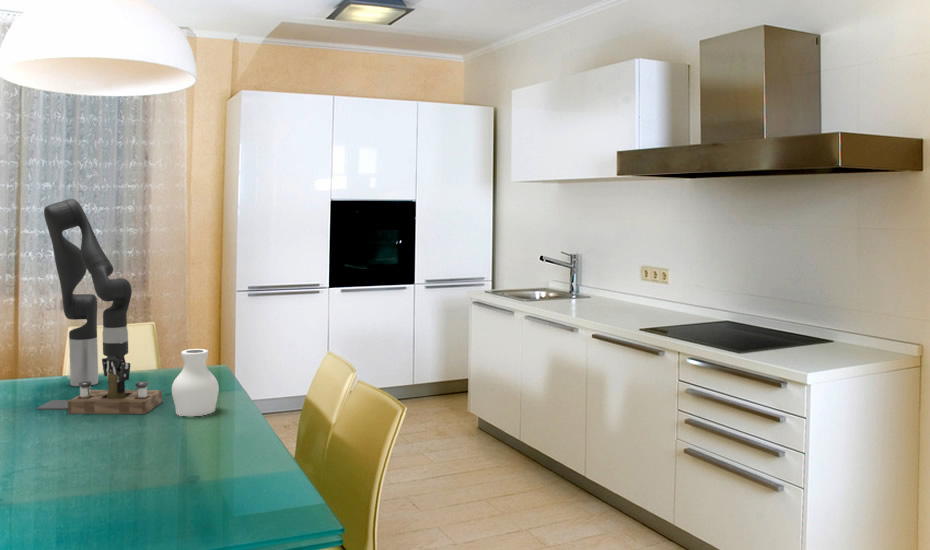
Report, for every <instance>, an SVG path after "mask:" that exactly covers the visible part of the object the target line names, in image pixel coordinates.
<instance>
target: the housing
mask: <svg viewBox="0 0 930 550" xmlns="http://www.w3.org/2000/svg"><path fill="white" fill-rule="evenodd" d="M90 391H91V398H89V399H80V394H79V395H77V396H76V397H73V398H72V399H68V400H69V401H68V410H67V413H68V415H69V414H74V415H75V414H76V415H78V414H79V415H80V414H81V415H86V414H87V415H90V414H92V415H95V414H96V415H97V414H98V415H146V414H147V413H149V412H150V411H152V410H153V409H154V408H156V407H157V406H159V405H160V404H162V403H163V390H160V389H159V390H158V389H157V390H156V389H154V390H151V389H147V399H137V389H129V390H128V389H125V398H124V399H107V396H108V389H90Z"/></svg>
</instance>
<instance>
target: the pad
mask: <svg viewBox="0 0 930 550" xmlns="http://www.w3.org/2000/svg"><path fill="white" fill-rule="evenodd" d="M69 400H70V399H55V400H54V399H52V400H49V401H48V402H46V403H44V404H41V405H40V406H37V407H36V411H38V410H39V411H40V410H41V411H44V410H45V411H68V401H69Z"/></svg>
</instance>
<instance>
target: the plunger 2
mask: <svg viewBox="0 0 930 550" xmlns="http://www.w3.org/2000/svg"><path fill="white" fill-rule="evenodd" d="M134 384H135V385H134V386H135V387H136V390H137V399H147V390H148V386H149V381H137V382H135V383H134Z"/></svg>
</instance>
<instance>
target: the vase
mask: <svg viewBox="0 0 930 550" xmlns="http://www.w3.org/2000/svg"><path fill="white" fill-rule="evenodd" d="M180 355H181V358H182V361H183V368H182V369H181V371H180V372H179V374H178V375H177V376H176V377H175V379H174V381H173V382H172V385H171V396H172V399H173V402H174V407H175V414H177V415H176V416H178V415H179V416H178V417H181V416H202V415H207V414H210V413H212V412H214V411H215V412H216V405H217V401H218V397H219V392H220V390H219V386H220V385H219V382H218V380H217V378H216V377H215V375H214V374H213V373H212V372H211V371H210V370H209V369H208V367H207V360H208V356H209V350H208V349H204V348H189V349H185V350H182V351H181V353H180ZM215 412H214V413H215ZM210 415H211V414H210ZM207 416H208V415H207ZM202 417H203V416H202Z"/></svg>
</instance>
